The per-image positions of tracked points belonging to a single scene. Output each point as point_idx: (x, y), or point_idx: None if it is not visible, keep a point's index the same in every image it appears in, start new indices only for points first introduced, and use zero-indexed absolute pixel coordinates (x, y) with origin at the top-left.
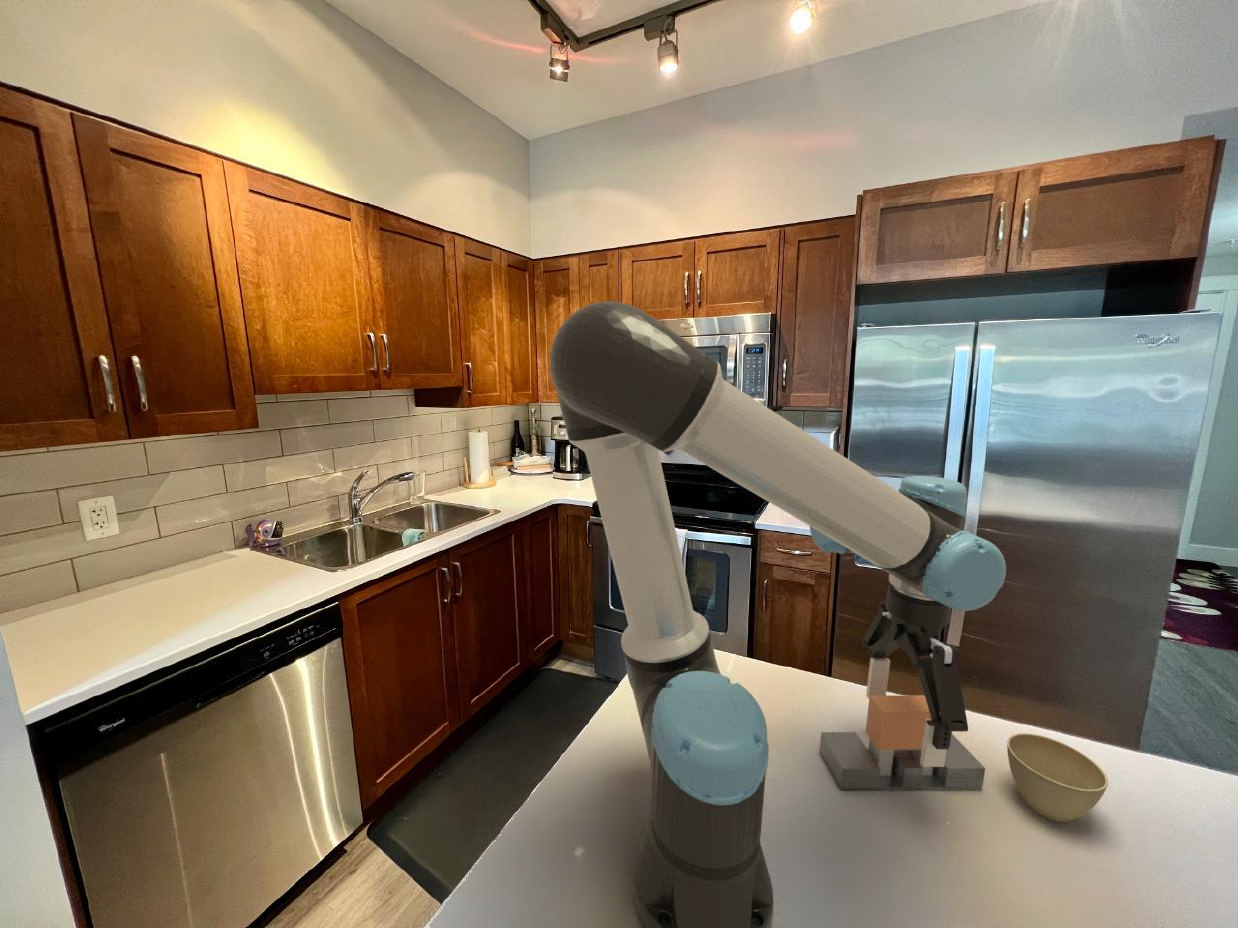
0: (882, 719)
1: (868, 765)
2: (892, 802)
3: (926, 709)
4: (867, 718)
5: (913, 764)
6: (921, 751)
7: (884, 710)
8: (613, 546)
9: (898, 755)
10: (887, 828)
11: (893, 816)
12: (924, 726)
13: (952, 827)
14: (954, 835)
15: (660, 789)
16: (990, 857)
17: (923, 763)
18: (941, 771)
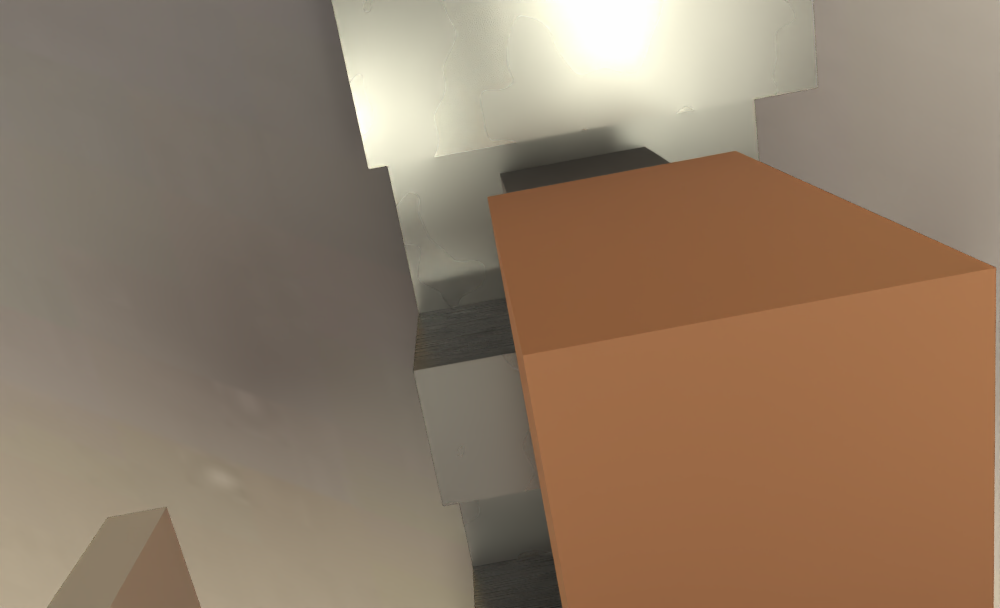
0: (513, 310)
1: (383, 68)
2: (297, 204)
3: None
4: (786, 180)
5: (473, 449)
6: (115, 587)
7: (559, 392)
8: None
9: None
10: (55, 90)
11: (174, 168)
12: None
13: (190, 487)
14: (132, 475)
15: None
16: (38, 591)
17: (102, 534)
18: (523, 603)
